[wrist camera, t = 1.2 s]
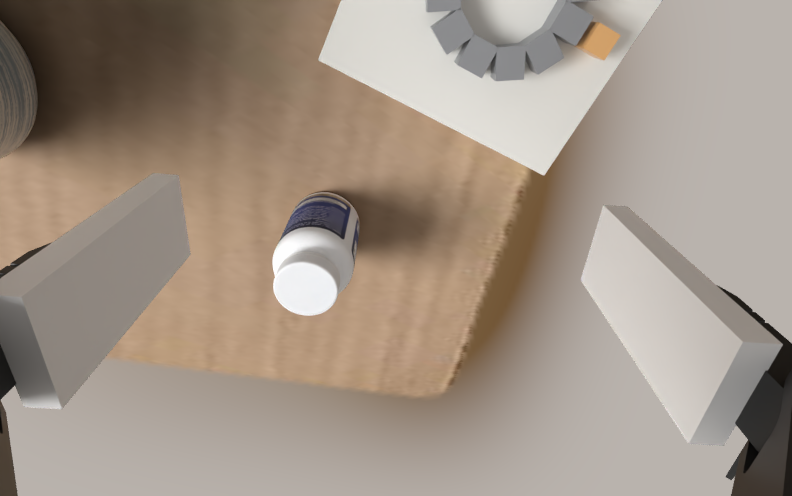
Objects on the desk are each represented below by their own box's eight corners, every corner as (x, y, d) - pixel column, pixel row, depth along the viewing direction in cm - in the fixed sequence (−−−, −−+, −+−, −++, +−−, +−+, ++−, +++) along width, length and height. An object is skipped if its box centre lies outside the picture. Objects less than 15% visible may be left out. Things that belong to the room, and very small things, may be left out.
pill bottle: (278, 210, 36) (242, 275, 28) (335, 177, 35) (316, 235, 27) (317, 262, 39) (295, 337, 30) (372, 233, 37) (366, 303, 29)
